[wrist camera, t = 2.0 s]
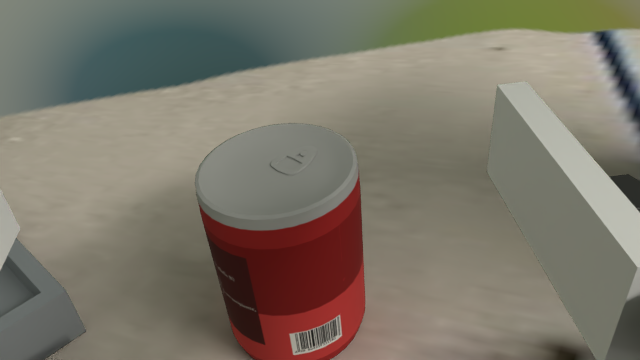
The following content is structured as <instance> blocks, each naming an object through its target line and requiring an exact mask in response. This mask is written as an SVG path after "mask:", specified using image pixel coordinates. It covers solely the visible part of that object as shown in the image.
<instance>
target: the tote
mask: <svg viewBox="0 0 640 360" xmlns="http://www.w3.org/2000/svg"><path fill="white" fill-rule="evenodd" d="M85 331H86V329H85V327H84V325H83V323H82V321H81V319H80V317H79V315H78V313H77V311H76V309H75V307H74V305H73V303H72V301H71V299H70V297H69V295H68V293H67V291H66V290H65V289H64V288H63V287H62V286H61V285H60V284H59V283H58V282H57V281H56V280H55V278H54V277H53V276H52V275H51V274H50V273H49V272H48V271H47V270H46V269H45V268H44V267H43V266H42V265H41V264H40V263H39V262H38V261H37V260H36V258H35V257H34V256H33V255H32V254H31V253H30V252H29V251H28V250H27V249H26V248H25V247H24V246H23V245H22V244H21V243H20V242H19V241H18V240H17V238H16V239H15V241H14V243H13V245H12V247H11V249H10V251H9V253H8V256H7V258H6V260H5V262H4V264H3V266H2V268H1V270H0V360H44V359H46V358H47V357H49V356H50V355H52V354H53V353H55V352H56V351H57V350H59V349H60V348H62V347H63V346H65V345H66V344H68V343H69V342H71V341H72V340H74V339H75V338H77V337H78V336H80V335H81V334H82V333H84V332H85Z"/></svg>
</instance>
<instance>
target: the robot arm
mask: <svg viewBox="0 0 640 360" xmlns="http://www.w3.org/2000/svg"><path fill="white" fill-rule="evenodd" d="M487 173H488V175H489V177H490V178H491V180H492V182H493V183H494V185H495V187H496V189H497V190H498V192H499V194H500V195H501V197H502V199H503V201H504V202H505V204H506V206H507V207H508V209H509V211H510V213H511V214H512V216H513V218H514V219H515V221H516V223H517V225H518V226H519V228H520V230H521V231H522V233H523V235H524V237H525V238H526V240H527V242H528V243H529V245H530V247H531V249H532V250H533V252H534V254H535V255H536V257H537V259H538V261H539V262H540V264H541V266H542V268H543V269H544V271H545V273H546V274H547V276H548V278H549V280H550V281H551V283H552V285H553V286H554V288H555V290H556V292H557V293H558V295H559V297H560V298H561V300H562V302H563V304H564V305H565V307H566V309H567V310H568V312H569V314H570V316H571V317H572V319H573V321H574V322H575V324H576V326H577V328H578V329H579V331H580V333H581V334H582V336H583V338H584V340H585V341H586V343H587V345H588V347H589V348H590V350H591V352H592V353H593V355H594V357H595V359H596V360H640V181H639V180H637V179H635V178H633V177H632V176H630V175H628V174H627V175H619V176H611V177H609V176H608V175H607V174H606V173H605V172H604V170H603V169H602V168H601V167H600V166H599V165H598V164H597V162H596V161H595V160H594V159H593V158H592V157H591V155H590V154H589V153H588V152H587V151H586V150H585V149H584V147H583V146H582V145H581V144H580V143H579V142H578V140H577V139H576V138H575V137H574V136H573V135H572V134H571V132H570V131H569V130H568V129H567V128H566V127H565V125H564V124H563V123H562V122H561V121H560V120H559V119H558V117H557V116H556V115H555V114H554V113H553V112H552V110H551V109H550V108H549V107H548V106H547V105H546V104H545V102H544V101H543V100H542V99H541V98H540V97H539V95H538V94H537V93H536V92H535V91H534V90H533V89H532V87H531V86H530V85H529V84H528V83H527V82H526V81H525V82H516V83H508V84H499V85H497V90H496V99H495V107H494V115H493V123H492V132H491V140H490V148H489V156H488V165H487ZM19 230H20V227H19V225H18V223H17V221H16V219H15V217H14V215H13V213H12V211H11V209H10V207H9V205H8V203H7V201H6V199H5V197H4V195H3V193H2V191H1V189H0V270H1V268H2V266H3V264H4V262H5V260H6V258H7V256H8V253H9V251H10V249H11V247H12V245H13V243H14V241H15V239H16V237H17V234H18V232H19Z"/></svg>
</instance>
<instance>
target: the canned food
mask: <svg viewBox="0 0 640 360" xmlns="http://www.w3.org/2000/svg"><path fill="white" fill-rule="evenodd" d="M195 186H196V196H197V200H198V204H199V207H200V212H201V216H202V220H203V224H204V228H205V231H206V235H207V239H208V242H209V246H210V250H211V253H212V257H213V261H214V264H215V268H216V272H217V275H218V279H219V283H220V286H221V290H222V294H223V297H224V301H225V305H226V308H227V312H228V316H229V319H230V323H231V327H232V330H233V334H234V336H235V337H236V339H237V341H238V343H239V344H240V345H241V346H242V347H243V348H244V350H245V351H246V352H247V353H248V354H249V355H250V356H251V357H252V358H254V359H255V360H330V359H331V358H333V357H335V356H336V355H338V354H339V353H340V352H341V351H342V350H344V349H345V348H346V347H347V346H348V344H349V343H350V342H351V341H352V340H353V338H354V336H355V335H356V333H357V331H358V329H359V327H360V324H361V322H362V318H363V315H364V311H365V286H364V263H363V240H362V217H361V194H360V181H359V166H358V163H357V156H356V153H355V150H354V148H353V147H352V145H351V144H350V142H349V141H348V140H346V139H345V138H344V137H343V136H342V135H340V134H338V133H336V132H334V131H332V130H330V129H327V128H324V127H321V126H316V125H310V124H299V123H288V124H276V125H269V126H264V127H260V128H256V129H252V130H249V131H247V132H244V133H241V134H238V135H236V136H234V137H232V138H230V139H229V140H227V141H225V142H223V143H222V144H220V145H219V146H218V147H216V148H215V149H214V150H213V151H211V152H210V153H209V154H208V155H207V156H206V157H205V159H204V160H203V161H202V163H201V164H200V166H199V168H198V170H197V173H196V178H195Z"/></svg>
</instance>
